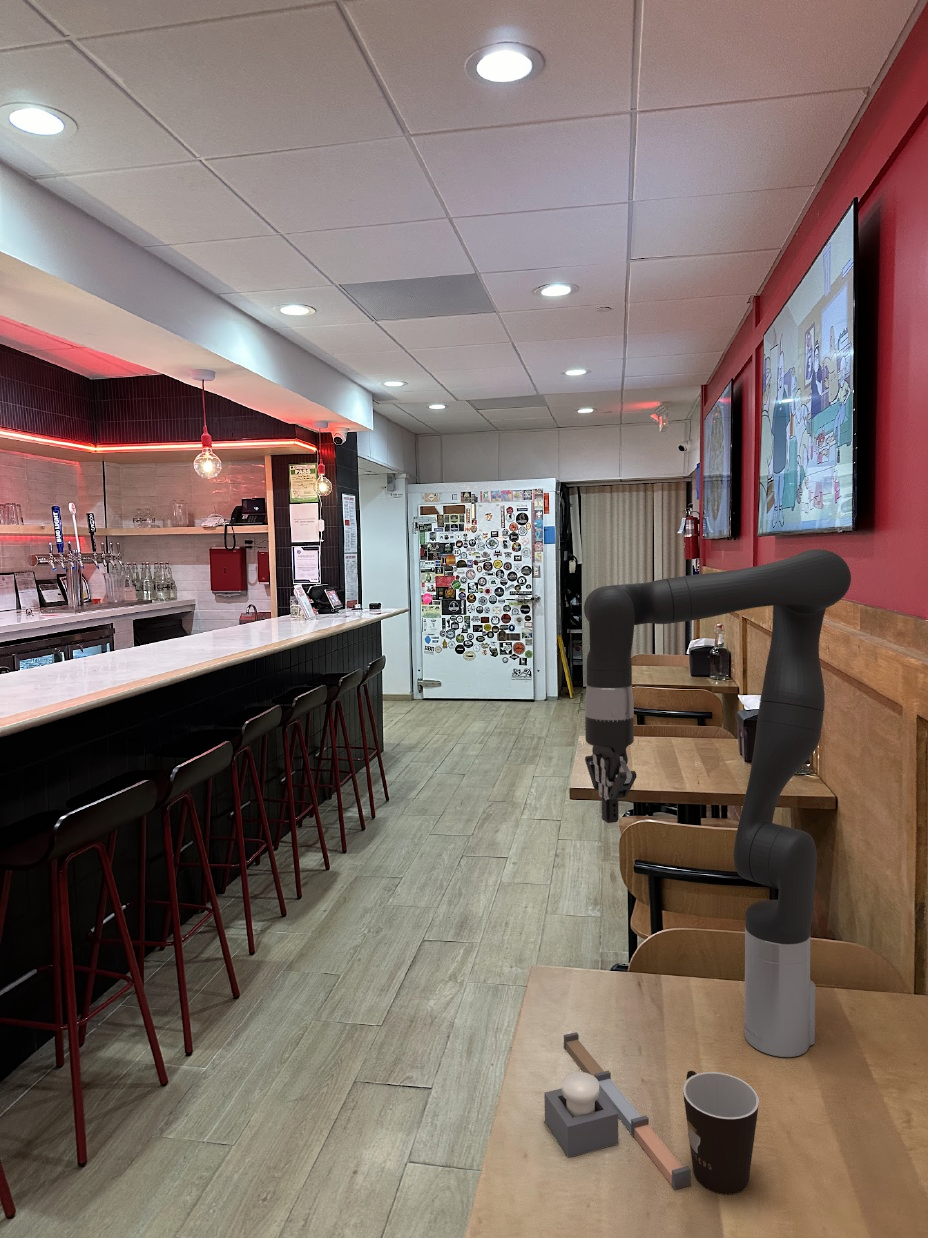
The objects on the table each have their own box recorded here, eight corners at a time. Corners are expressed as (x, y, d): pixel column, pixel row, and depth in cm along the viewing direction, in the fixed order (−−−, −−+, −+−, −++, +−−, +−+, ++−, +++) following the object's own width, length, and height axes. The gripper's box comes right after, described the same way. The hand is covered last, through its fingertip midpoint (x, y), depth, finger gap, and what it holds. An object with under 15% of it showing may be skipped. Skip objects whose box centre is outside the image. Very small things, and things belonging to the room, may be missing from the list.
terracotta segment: (646, 1130, 107) (646, 1115, 107) (690, 1185, 97) (690, 1169, 97) (631, 1134, 106) (631, 1119, 106) (674, 1190, 97) (674, 1174, 97)
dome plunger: (588, 1112, 110) (588, 1068, 109) (606, 1135, 105) (606, 1090, 105) (555, 1120, 108) (555, 1076, 108) (572, 1145, 104) (571, 1099, 103)
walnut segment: (576, 1045, 126) (576, 1032, 126) (608, 1084, 116) (608, 1070, 116) (563, 1048, 125) (563, 1035, 125) (594, 1087, 116) (594, 1074, 115)
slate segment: (608, 1084, 116) (608, 1070, 116) (646, 1130, 107) (646, 1115, 107) (594, 1087, 116) (594, 1074, 115) (631, 1134, 106) (631, 1119, 106)
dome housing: (592, 1109, 111) (592, 1081, 111) (618, 1144, 104) (618, 1114, 104) (544, 1121, 109) (544, 1092, 109) (568, 1158, 102) (567, 1127, 102)
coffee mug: (763, 1207, 94) (763, 1123, 93) (684, 1196, 96) (684, 1114, 95) (751, 1136, 105) (751, 1061, 104) (681, 1128, 107) (680, 1054, 106)
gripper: (652, 719, 125) (653, 831, 126) (610, 704, 138) (610, 807, 139) (608, 723, 123) (609, 837, 124) (569, 708, 135) (570, 812, 136)
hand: (610, 821), depth 131 cm, fingers closed
